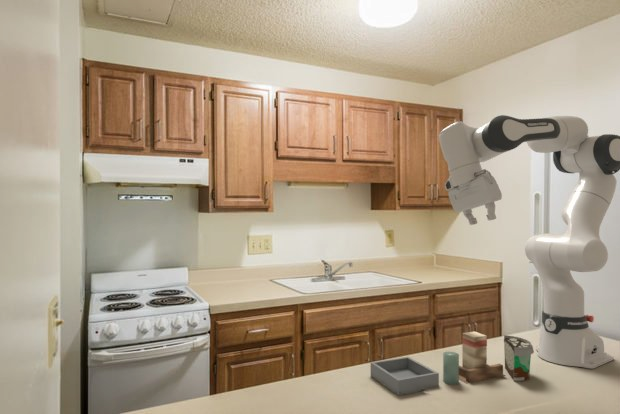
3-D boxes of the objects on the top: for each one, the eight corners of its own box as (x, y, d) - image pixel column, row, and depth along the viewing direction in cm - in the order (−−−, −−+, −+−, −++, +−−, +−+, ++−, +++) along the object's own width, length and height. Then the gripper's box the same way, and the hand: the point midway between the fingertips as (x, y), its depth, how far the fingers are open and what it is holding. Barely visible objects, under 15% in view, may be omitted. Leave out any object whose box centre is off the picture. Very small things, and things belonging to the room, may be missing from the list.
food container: (540, 387, 112) (540, 349, 112) (515, 385, 113) (515, 348, 114) (526, 370, 124) (526, 335, 124) (503, 368, 126) (503, 334, 126)
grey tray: (408, 369, 125) (408, 356, 125) (438, 387, 112) (438, 373, 112) (370, 375, 120) (370, 362, 120) (398, 395, 107) (398, 380, 107)
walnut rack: (481, 366, 127) (481, 354, 127) (506, 377, 119) (506, 364, 119) (443, 373, 122) (443, 360, 122) (466, 385, 113) (466, 372, 113)
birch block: (474, 369, 123) (474, 331, 123) (486, 375, 119) (486, 335, 119) (462, 371, 122) (462, 333, 122) (474, 377, 117) (474, 337, 117)
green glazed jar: (451, 379, 117) (451, 350, 117) (462, 385, 114) (462, 355, 114) (440, 382, 116) (440, 352, 116) (450, 387, 112) (450, 357, 112)
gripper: (497, 164, 115) (515, 213, 113) (459, 182, 135) (473, 224, 133) (477, 170, 113) (494, 219, 112) (441, 186, 133) (455, 229, 132)
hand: (482, 222), depth 122 cm, fingers open, 8 cm apart
